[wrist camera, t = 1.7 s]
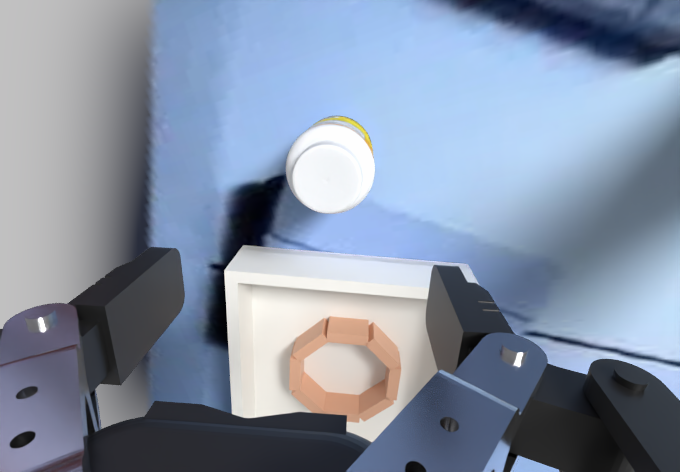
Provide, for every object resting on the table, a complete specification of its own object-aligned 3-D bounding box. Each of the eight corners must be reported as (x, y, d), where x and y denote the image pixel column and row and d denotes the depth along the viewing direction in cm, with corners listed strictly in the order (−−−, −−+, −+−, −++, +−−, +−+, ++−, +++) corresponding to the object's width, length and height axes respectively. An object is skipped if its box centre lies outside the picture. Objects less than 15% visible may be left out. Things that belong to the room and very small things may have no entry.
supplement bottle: (352, 196, 32) (346, 243, 23) (292, 164, 32) (261, 200, 22) (386, 135, 30) (395, 160, 21) (322, 101, 30) (302, 110, 20)
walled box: (243, 245, 35) (224, 270, 30) (467, 263, 34) (483, 292, 29) (249, 426, 43) (235, 468, 38) (430, 444, 42) (437, 489, 38)
